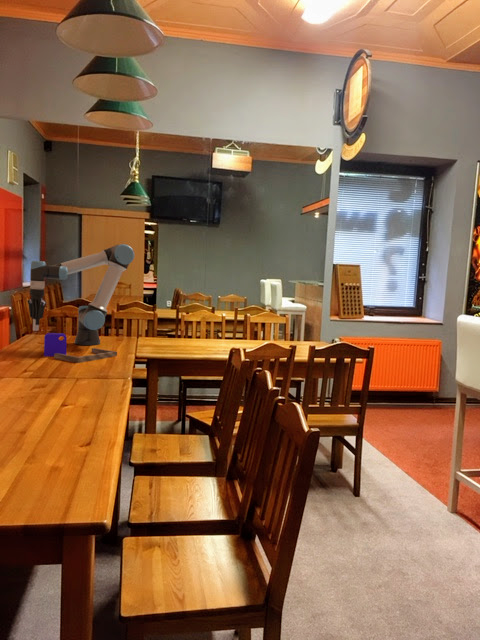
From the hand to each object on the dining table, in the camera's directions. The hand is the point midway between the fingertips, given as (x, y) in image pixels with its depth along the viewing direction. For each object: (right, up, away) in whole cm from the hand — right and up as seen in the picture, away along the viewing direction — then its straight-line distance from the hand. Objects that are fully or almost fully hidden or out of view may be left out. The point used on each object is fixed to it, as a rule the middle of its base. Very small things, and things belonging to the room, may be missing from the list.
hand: (35, 330), depth 289 cm
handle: (+33, -14, -16) cm, 39 cm away
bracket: (+14, -13, -9) cm, 21 cm away
